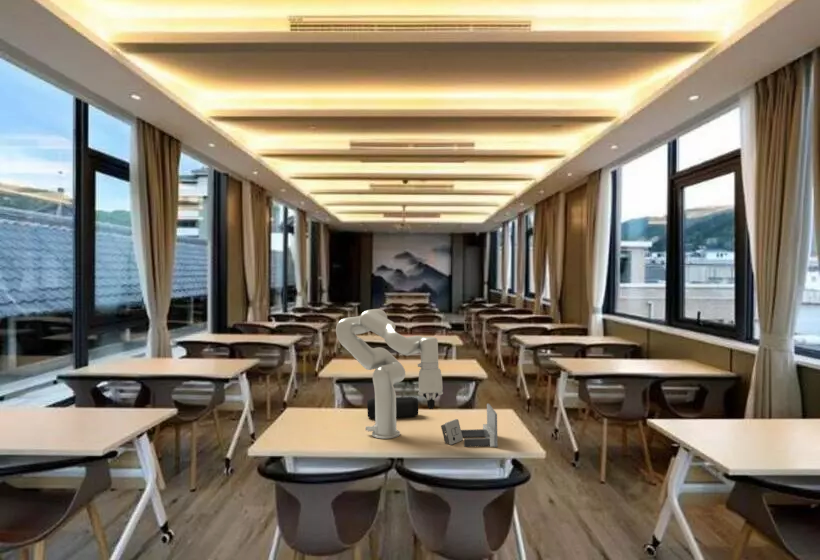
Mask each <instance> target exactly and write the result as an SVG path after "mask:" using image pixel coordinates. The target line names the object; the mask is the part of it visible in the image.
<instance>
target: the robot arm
mask: <svg viewBox="0 0 820 560" xmlns="http://www.w3.org/2000/svg"><path fill="white" fill-rule="evenodd" d="M335 327H336V328H335V334H336V338H337V340H338V342H339V343H340V345H341V346H342V347H343V348H344V349H345V350H347V351H348V353H350V354H351V356H352V357H353V358H354V359H355V360H356V361H357V362H358V364H360V365H361V366H362V368H364V369H365V370H367V371H371V370H374V371H373V373H372V384H373V388H374V389H373V390H374V398H375V418H374V421H375V422H374V425H371V426H370V425H369V426H368V425H365V431H366V432H371V436H372V437H374V438H377V439H383V440H385V439H395V438H397V437H399V436H400V435H401V431H399V430H398V429H397V427H398V426H397V418H396V397H397V393H396V390H395V387H394V385H396V384H399V383H401V382H403V381H404V379H405V377H406V369H405V367H404V366H403V364H402V363H401V362H400V361H399V360H398V359H397V358H396V357H395V356H394V355H393V354H392V353H391V352H390V351H389V350H388V349H386V348H384V347H379V346H378V347H374V348H373V347H371V346H370V345H369V344H368V343H367V342H366V341H365V340H363V339H362V338H361V337H359V336H357V335H362V334H365V333H368V332H372V333H374V334H375V335H377V336H379V337H381V338H383V339H384V342H385V343H386V344H387V346H388V347H389V348H390V349H392V350H394V351H395V352H397V353H398V354H401V355H404V356H411V355H416V354H419V353H420V363H417V368H420V369H419V370H418V392H417V395H418V396H420V397H421V396H422V397H424V398H425V399H426V401H427V402H426V403H427V405H426V406H427V408H428V409H429V410H434V407H435V400H436V399H437V398H438V396H442V395H443V394H444V391H443V387H444V386H443V376H442V370H441V368H440V367H439V341H438V338H436V337H434V336H422V335H421V336H420V335H413V336H409V337H406V336H404V335H402V334H400V333H399V332H397V331H396V323H395V322H394V321H393V320H390V319H389V318H388V315H387V313H386V312H385V311H384V310H383V309H381V308H380V309H379V308H373V309H367V310H364V311H363V312H362V313H361V314H360V315H358V316H350V317H344V318H341V319H340V320H339V321H338V322H337V324H336V326H335ZM430 394H431V397H430Z"/></svg>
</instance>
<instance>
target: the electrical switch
mask: <svg viewBox="0 0 820 560" xmlns="http://www.w3.org/2000/svg"><path fill="white" fill-rule="evenodd" d="M440 428H441V432H442V436H443V441H444V444H449V445H450V446H451V445H454V444H456V443H460V442H462V441H464V437H463V436H462V432H461V430H462V428H461V425H460V421H459V418H458V419H457V418H455V419H452V420H450V421H447V422H445V423H443V424H442V425H440Z"/></svg>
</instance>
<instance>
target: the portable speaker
mask: <svg viewBox="0 0 820 560" xmlns="http://www.w3.org/2000/svg"><path fill="white" fill-rule="evenodd" d="M366 407H367V410H366V411H367V417H368V418H371V419H375V397H372V398H369V399H368V400H367V406H366ZM418 415H419V400H418V398H417V397H414V396H404V397H403V396H402V397H399V396H398V397H397V396H396V417H397V418H411V417H412V418H413V417H416V416H418Z"/></svg>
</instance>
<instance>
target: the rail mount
mask: <svg viewBox="0 0 820 560" xmlns="http://www.w3.org/2000/svg"><path fill="white" fill-rule="evenodd" d="M461 432H462V436H463V446H464V448H466V447H467V448H469V447H471V448H472V447H473V448H474V447H475V446H476V447H477V446H478V447H490V448H496V447H498V413H497V412H496V410H495V409H494V408H493V406H491V403H486V423H484V424H482V429H461ZM484 437H485V438H484Z"/></svg>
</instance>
